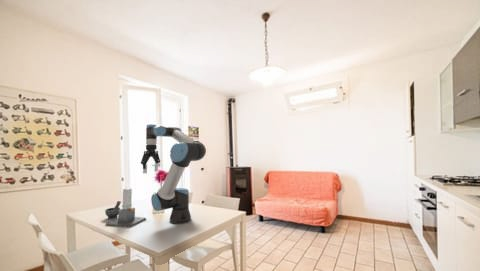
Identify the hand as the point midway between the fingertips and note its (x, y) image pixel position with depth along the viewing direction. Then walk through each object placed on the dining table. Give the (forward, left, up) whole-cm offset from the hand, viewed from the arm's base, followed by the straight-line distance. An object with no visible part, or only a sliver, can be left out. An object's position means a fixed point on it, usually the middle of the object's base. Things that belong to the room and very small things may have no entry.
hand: (150, 172), depth 162 cm
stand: (+12, +10, -35) cm, 38 cm away
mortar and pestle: (+30, +3, -35) cm, 46 cm away
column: (+12, +10, -28) cm, 32 cm away
